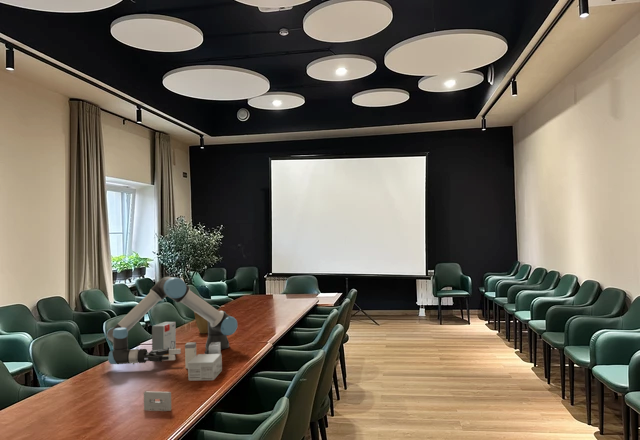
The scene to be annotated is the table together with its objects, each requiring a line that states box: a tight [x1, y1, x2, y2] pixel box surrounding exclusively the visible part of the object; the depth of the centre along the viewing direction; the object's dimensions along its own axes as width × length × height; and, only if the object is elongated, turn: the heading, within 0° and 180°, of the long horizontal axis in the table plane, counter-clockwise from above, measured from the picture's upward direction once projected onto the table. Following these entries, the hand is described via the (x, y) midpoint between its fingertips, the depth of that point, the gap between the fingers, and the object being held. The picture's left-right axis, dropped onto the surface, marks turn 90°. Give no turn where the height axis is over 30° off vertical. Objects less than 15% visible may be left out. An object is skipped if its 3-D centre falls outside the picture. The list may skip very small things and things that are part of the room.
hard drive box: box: [151, 321, 177, 357], centre depth 291 cm, size 16×8×20 cm, turn 168°
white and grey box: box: [184, 341, 197, 370], centre depth 265 cm, size 9×6×13 cm, turn 94°
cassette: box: [143, 390, 172, 412], centre depth 200 cm, size 12×2×8 cm, turn 81°
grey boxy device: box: [209, 342, 222, 355], centre depth 266 cm, size 9×10×12 cm
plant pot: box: [193, 311, 208, 334], centre depth 361 cm, size 15×15×16 cm
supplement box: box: [187, 353, 223, 382], centre depth 248 cm, size 17×13×9 cm
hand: (177, 354), depth 265 cm, fingers open, 13 cm apart
